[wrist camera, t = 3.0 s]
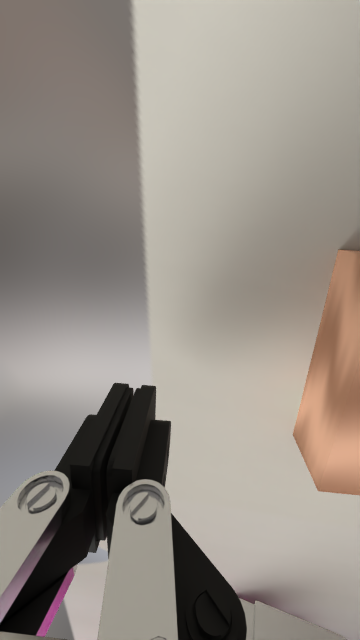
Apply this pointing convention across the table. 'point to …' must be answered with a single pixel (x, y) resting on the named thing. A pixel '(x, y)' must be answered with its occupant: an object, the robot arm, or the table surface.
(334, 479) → the T block
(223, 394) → the table surface
